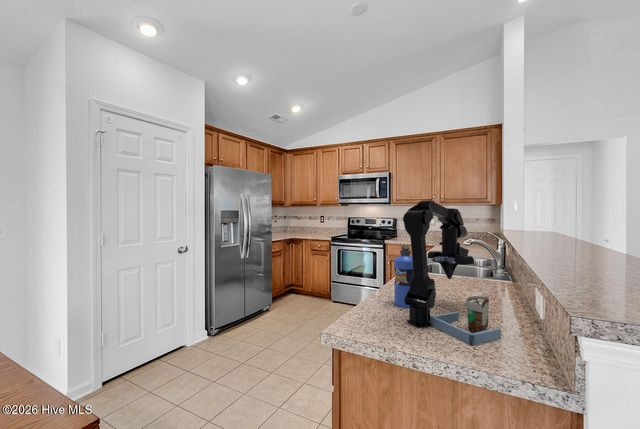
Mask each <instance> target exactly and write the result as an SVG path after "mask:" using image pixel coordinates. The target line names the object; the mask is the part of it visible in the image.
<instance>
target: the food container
mask: <svg viewBox="0 0 640 429" xmlns="http://www.w3.org/2000/svg"><path fill="white" fill-rule="evenodd" d="M489 305H490V298H489V296H482V295H472V296H471V295H470V296H468V297H467V298H466V299H465V301H464V306H465V308H466V313H467V327H468V332H469V333H477V332H481V331H486V330H488V329H489V307H490V306H489Z"/></svg>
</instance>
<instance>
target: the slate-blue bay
mask: <svg viewBox="0 0 640 429" xmlns="http://www.w3.org/2000/svg"><path fill="white" fill-rule="evenodd" d="M459 316H460V313H459V312H458V311H453V312H452V311H451V312H446V313H442V314H436V315H430V323H431V324H432V325H431V326H430V327H433V328H435V329H437V330H440V331H441V332H444V333H445V334H448V335H449V336H451V337H454V338H456V339H458V340H460V341H462V342H464V343H466V344H468V345H470V346H471V347H472V346H478V345H481V344H484V343H489V342H492V341H496V340H497V341H498V340H501V339H502V338H501V337H502V328H499V327H495V328H491V329H487V330H486V331H481V332H477V333H472V332H470V331H467V330H465V329H462V328H461V327H458V326H456V325H453V324H451V323H454V322H459V321H460V320H459V319H460V317H459Z"/></svg>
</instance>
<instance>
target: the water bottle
mask: <svg viewBox="0 0 640 429" xmlns="http://www.w3.org/2000/svg"><path fill="white" fill-rule="evenodd" d="M399 254H400V256H397V257H396V258H393V267H394V276H395V278H394V288H393V289H394V290H393V292H394V300H393V301H394V306H396V307H399V308H402V309H409V306H410V305H405V300H404V299H405V297H406V295H407V293H408V291H409V289H410V282H411V281H412V279H413V277H414V274H413V262H412V250H411V247H410V246H409V245H408V244H407V245H406V244H403V245H402V246H401V247H400V251H399ZM414 300H415V301H418V300H416V299H414Z"/></svg>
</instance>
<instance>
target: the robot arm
mask: <svg viewBox="0 0 640 429" xmlns="http://www.w3.org/2000/svg"><path fill="white" fill-rule="evenodd" d="M434 217H436V218H437V221H439V223H441V225H440V227H439V229H440V230H441V241H440V242H439V243H438V244H439V246H441V251H440V250H430V251H428V253H427V241H426V235H427V233H428V231H429V229H430V227H431V226H430V224H431V221H433V219H434ZM402 221H403V224H404V230H405V231H406V232H407V234H408V236H409V238H410V251H411V257H412V262H413V274H414V277H413V279H412V281H411V282H410V289H409V291H408V293H407V295H406V297H405V299H404V300H405V305H410V306H409V308H408V309H409V315H408V316H409V318H408V319H406V323H408V324H411V326H414V327H416V328H421V329H422V328H425V327H432V326H431V325H432V324H431V323H430V316H431V309H433V308H435V302H436V295H437V292H436V282H435V279H433V278H430V276H429V268H428V259H431V260H433V259H434V258H438V260H437V262H438V263H439V265H440V266H441V268H442V270H443V272H444V274H445V276H446V278H447V279H449V280H451V279H452V278H453V275H454V272H455V270H456V268H457V266H465V265H474V264H475V259H474V256H471V255H469V252H470V250H469V248H468V249H467V248H465V247H462V246H461V243H460V242H458V240H459V239H464V238H465V237H466V236H467V234H468V230H467V228H466V227H465V224H464V220H463V217H462V214H461V212H460V211H459V209H458V208H453V207H452V208H451V207H449V208H448V207H446V206H443V205H441V204H440V203H437V202H435V201H434V200H433V199H425V200H421V201H418V202H417V204H416V205H413V206H412V207H410V208H409V209H408V210H407V211H406V212H405V213H404V214H403V216H402ZM414 299H416V300H417V301H415V300H414Z"/></svg>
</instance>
